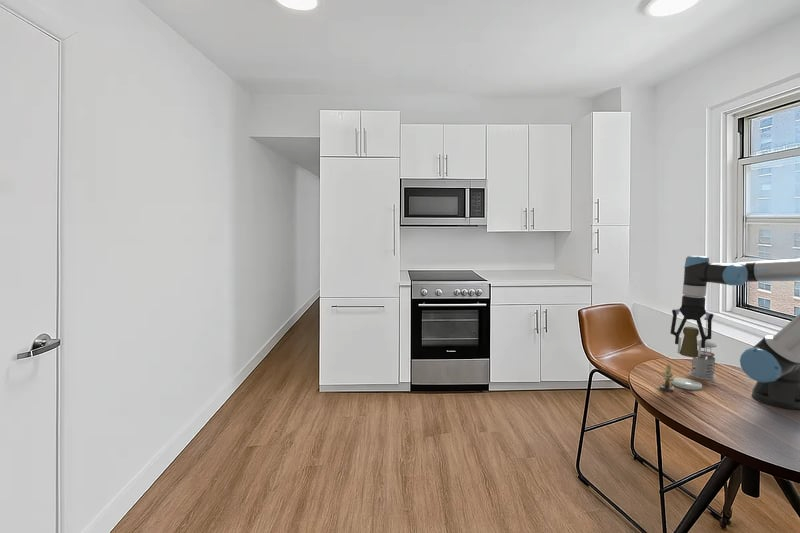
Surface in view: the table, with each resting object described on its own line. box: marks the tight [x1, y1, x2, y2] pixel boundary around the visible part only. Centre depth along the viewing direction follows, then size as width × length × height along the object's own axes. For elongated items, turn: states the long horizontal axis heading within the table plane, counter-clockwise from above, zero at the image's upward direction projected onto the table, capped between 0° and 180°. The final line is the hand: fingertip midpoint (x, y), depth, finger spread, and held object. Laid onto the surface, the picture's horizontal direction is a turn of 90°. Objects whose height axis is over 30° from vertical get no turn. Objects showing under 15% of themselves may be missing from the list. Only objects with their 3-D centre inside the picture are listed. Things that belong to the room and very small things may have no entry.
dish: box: [671, 377, 703, 391], centre depth 176 cm, size 10×10×1 cm
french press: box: [688, 316, 718, 381], centre depth 187 cm, size 10×12×25 cm
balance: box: [659, 363, 675, 393], centre depth 172 cm, size 4×12×11 cm, turn 145°
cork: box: [679, 326, 700, 358], centre depth 175 cm, size 6×6×11 cm
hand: (688, 354), depth 175 cm, fingers closed on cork, 6 cm apart
